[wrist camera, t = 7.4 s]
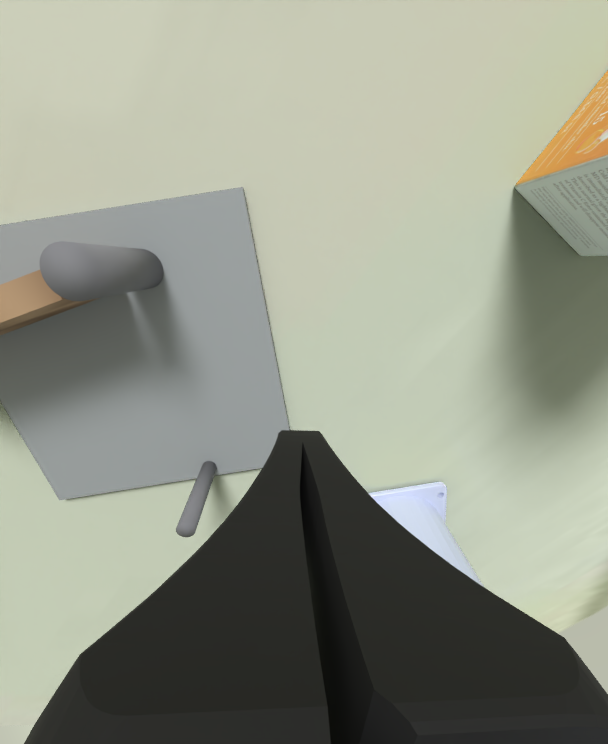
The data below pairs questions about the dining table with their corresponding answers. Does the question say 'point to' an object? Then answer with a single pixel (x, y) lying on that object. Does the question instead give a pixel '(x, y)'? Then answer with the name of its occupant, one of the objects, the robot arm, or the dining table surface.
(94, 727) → the robot arm
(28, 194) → the dining table surface
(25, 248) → the gate frame
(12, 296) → the board
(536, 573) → the dining table surface
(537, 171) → the small box
